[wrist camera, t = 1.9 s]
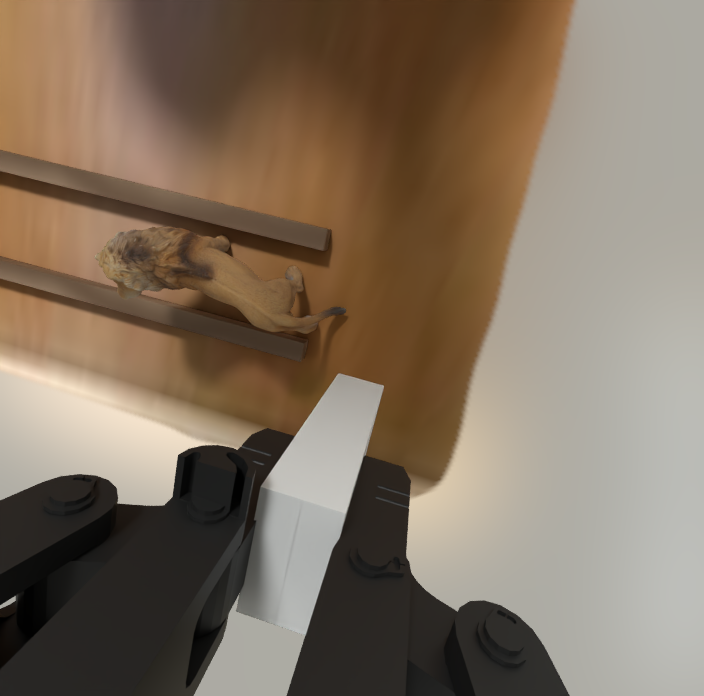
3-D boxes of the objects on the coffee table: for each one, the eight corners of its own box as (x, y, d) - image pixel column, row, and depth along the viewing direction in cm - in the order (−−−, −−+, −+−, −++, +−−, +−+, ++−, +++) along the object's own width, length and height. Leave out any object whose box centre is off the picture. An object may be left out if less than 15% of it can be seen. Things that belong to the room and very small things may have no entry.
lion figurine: (166, 284, 34) (78, 298, 25) (177, 217, 32) (87, 208, 24) (338, 340, 33) (307, 375, 24) (357, 273, 31) (331, 285, 23)
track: (-48, 138, 34) (-108, 125, 30) (331, 229, 31) (317, 228, 27) (-44, 261, 37) (-99, 263, 33) (304, 357, 33) (289, 372, 30)
